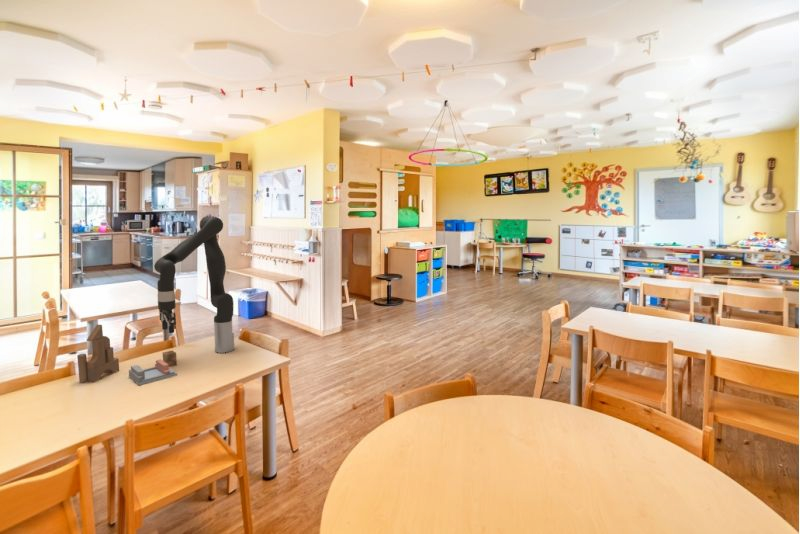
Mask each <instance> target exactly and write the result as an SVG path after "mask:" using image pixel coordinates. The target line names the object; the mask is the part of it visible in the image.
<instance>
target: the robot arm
mask: <svg viewBox="0 0 800 534" xmlns="http://www.w3.org/2000/svg"><path fill="white" fill-rule="evenodd" d="M199 228H200V229H199V230H198V231H197V232H196V233H194V234H193V235H191V236H189V237H188V238H186V239H184V240H182V241H181V242H180V243H179V244H177V245H176V247H174V248H173V249H172V250H171V251H169V252H168V253H166V254H165V255H163V256H161V257H159V259H157V260H156V261H155V263H154V267H153V268H154V270H155V272H157V273H159V275H160V276H159V279H158V280H157V309H158V310H159V311H158V312H159V321H160V322H161V327H162V328H161V329H162V330H163V331H164V330H168V333H169V334H174V333H175V326H176V325H177V318H176V312H173V310H174V309H176V307H177V306H176V294H175V293H176V292H175V282H174V281H175V277H176V264H177V263H180V262H183V261H184V260H185V259H187V258H188V257H189V256H190V255H191V254H192V253H193V252H194V251H196V250H197V249H198V248H199V247H200V246H202V245H203V246H204V252H205V253H204V254H205V261H206V269H207V273H208V279H209V280H208V281H209V291H210V302H211V305H212V306H213V307H214V308H216V315H215V316H214V317H213V327H214V352H215V353H217V352H218V353H217V354H226V353H230V352H232V351H234V350H235V333H234V332H233V317H234V298H233V296H232V295H231V294H229V293H227V292H226V290H225V286H224V278H225V276H226V272H227V271H226V270H227V266H226V264H227V263H226V259H225V255H224V253H223V250H222V248H221V247H220V244H219V242H218V236H217V234H219V233H220V232H221V231H222V230H223V228H224V222H223V220H222V218H220V217H217V216H211V215H210V216H208V215H207V216H203V217H202V218H201V219H200V221H199ZM233 349H234V350H233ZM225 352H226V353H225Z"/></svg>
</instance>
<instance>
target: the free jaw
mask: <svg viewBox="0 0 800 534" xmlns="http://www.w3.org/2000/svg"><path fill="white" fill-rule="evenodd" d="M154 367H156V369H157V370H159V371H160V372H161V373H163V374H167V373H170V370H169V368H170V367H169V365H168V364H167V363H165V362H164V361H163V359H155V363H154Z"/></svg>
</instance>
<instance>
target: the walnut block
mask: <svg viewBox="0 0 800 534" xmlns="http://www.w3.org/2000/svg"><path fill="white" fill-rule="evenodd" d="M177 360H178V359H177V352H176V351H174V350H168V351H167V350H166V351H164V352H162V361H164V362H165V363H167V364H168V365H169V368H171V367H174V366H175V367H176V366H177V365H178V364H177Z"/></svg>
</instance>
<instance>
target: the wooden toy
mask: <svg viewBox="0 0 800 534" xmlns="http://www.w3.org/2000/svg"><path fill="white" fill-rule="evenodd" d="M103 333H104V332H103V325H102V324H96V325H95V327H94V328H93V329H92V331H91V333H90V334H89V336H88V337H87V338H86V341H87V342H91V346H92V349H91V350H92V356H91V358H90V359H89V360H88V359H87V358H88V357H87V354H86V353H79V354H78V355H77V368H78V369H77V370H78V380H79V383H80V384H84V383H87V382H89V383H95V382H98V381H100V380H102V375H103V374H115V373H117V372H120V362H119V361H120V360H119V357H114V356H115V355H114V347H113V346H111V341H110V338H109V337H108V336H107V335H104V334H103Z"/></svg>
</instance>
